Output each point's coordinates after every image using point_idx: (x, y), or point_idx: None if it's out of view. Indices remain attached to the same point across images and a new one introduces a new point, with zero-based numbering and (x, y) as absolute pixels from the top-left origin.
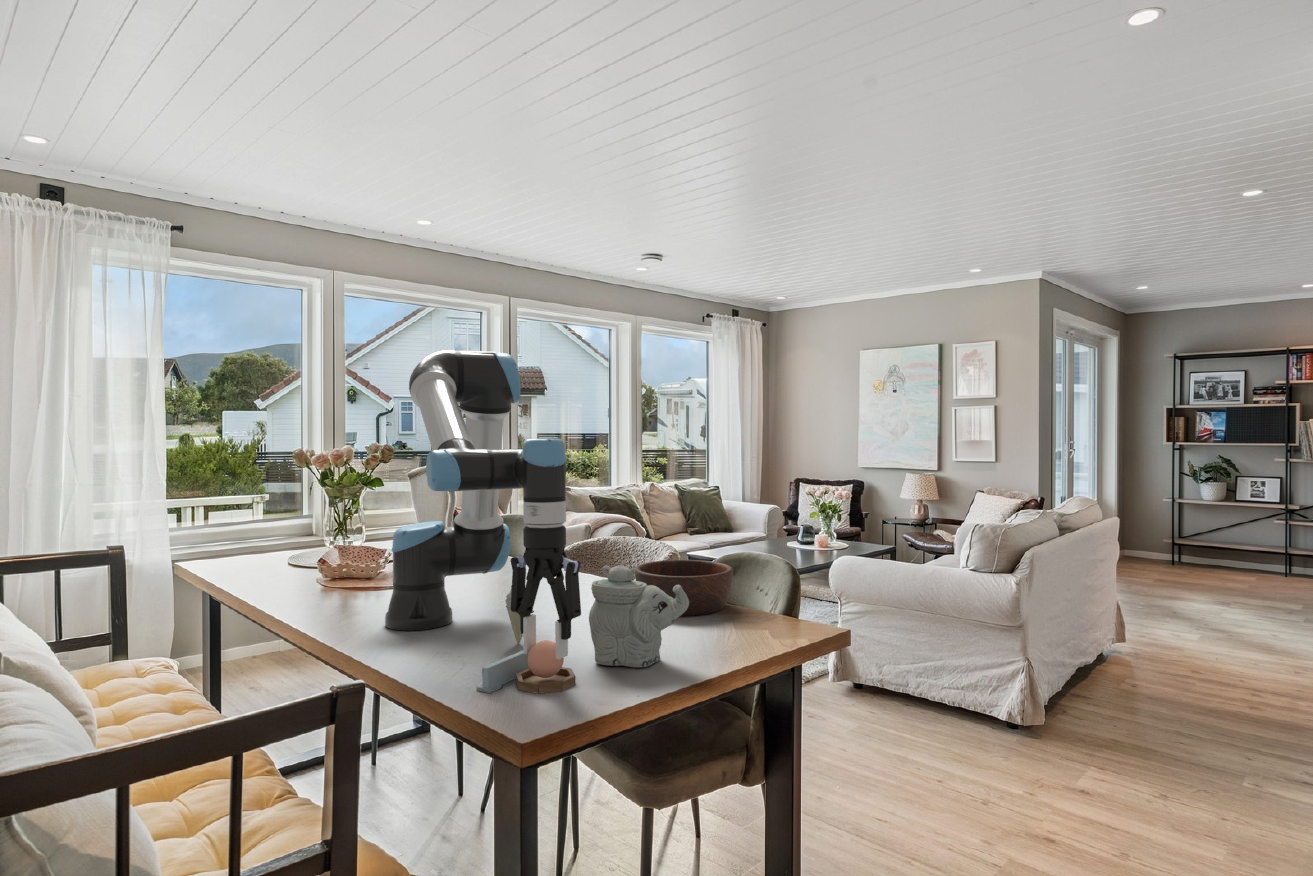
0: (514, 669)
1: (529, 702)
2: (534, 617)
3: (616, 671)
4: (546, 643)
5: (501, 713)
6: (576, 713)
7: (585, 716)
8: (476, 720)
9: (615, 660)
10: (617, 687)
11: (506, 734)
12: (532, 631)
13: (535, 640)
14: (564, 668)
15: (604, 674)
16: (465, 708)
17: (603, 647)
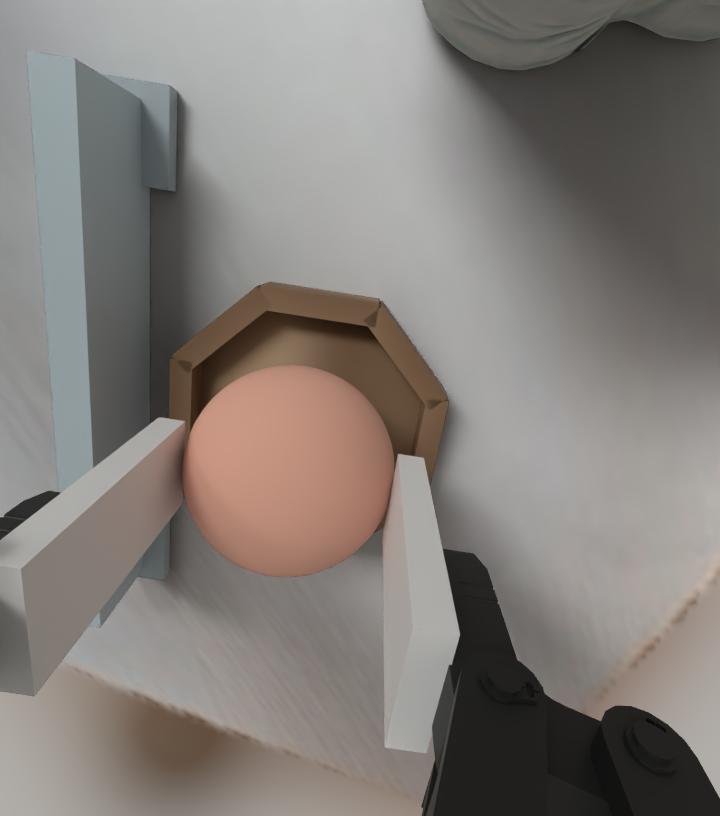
0: (127, 424)
1: (356, 608)
2: (39, 572)
3: (592, 123)
4: (295, 548)
5: (319, 699)
6: (557, 649)
7: (595, 662)
8: (280, 750)
9: (592, 38)
10: (651, 372)
11: (414, 798)
12: (117, 526)
13: (155, 454)
14: (346, 313)
15: (537, 202)
16: (188, 692)
17: (537, 24)
